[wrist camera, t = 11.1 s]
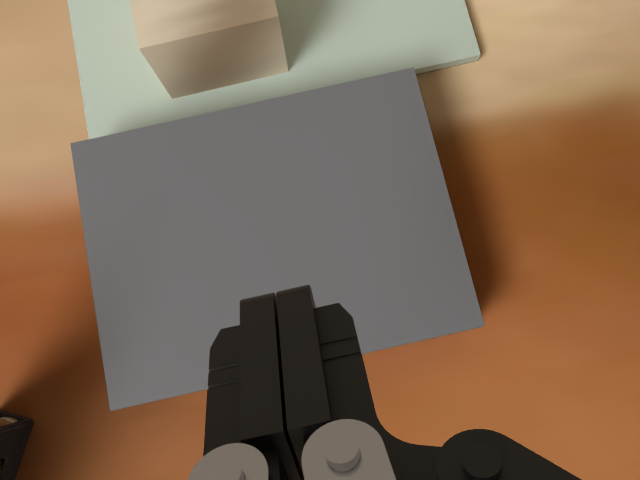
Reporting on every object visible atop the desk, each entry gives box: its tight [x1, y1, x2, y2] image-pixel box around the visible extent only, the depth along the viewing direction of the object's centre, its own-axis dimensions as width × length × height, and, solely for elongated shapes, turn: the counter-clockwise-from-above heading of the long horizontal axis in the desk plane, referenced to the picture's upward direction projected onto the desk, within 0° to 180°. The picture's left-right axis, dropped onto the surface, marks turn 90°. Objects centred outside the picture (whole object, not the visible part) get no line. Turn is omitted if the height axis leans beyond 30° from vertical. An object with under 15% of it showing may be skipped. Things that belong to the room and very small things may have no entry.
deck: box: [71, 67, 485, 411], centre depth 27 cm, size 16×12×3 cm
